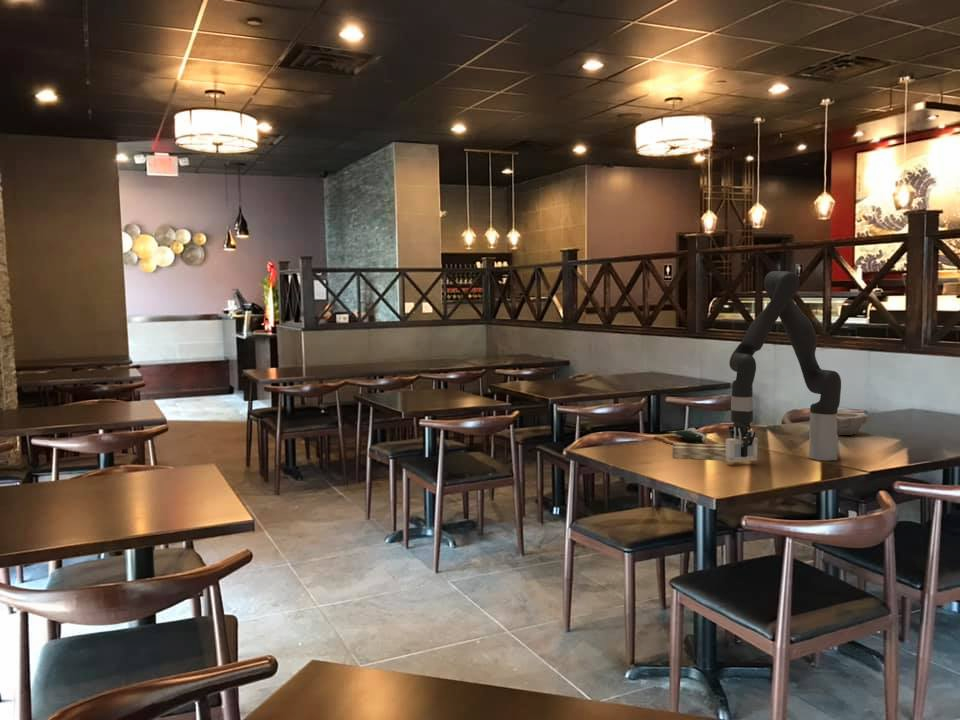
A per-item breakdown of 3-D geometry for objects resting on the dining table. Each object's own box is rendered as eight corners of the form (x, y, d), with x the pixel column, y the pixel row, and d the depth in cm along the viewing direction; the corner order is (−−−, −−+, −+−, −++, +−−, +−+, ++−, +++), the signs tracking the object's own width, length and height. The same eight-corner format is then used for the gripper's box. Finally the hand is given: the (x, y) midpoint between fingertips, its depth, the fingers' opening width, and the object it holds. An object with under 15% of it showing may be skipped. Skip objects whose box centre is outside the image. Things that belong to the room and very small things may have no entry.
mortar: (812, 432, 334) (813, 412, 334) (842, 430, 340) (843, 410, 339) (842, 439, 318) (842, 417, 318) (873, 436, 324) (873, 415, 323)
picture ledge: (749, 456, 284) (749, 446, 284) (751, 461, 275) (751, 450, 275) (673, 453, 292) (673, 443, 292) (672, 458, 283) (672, 447, 282)
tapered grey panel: (752, 458, 274) (752, 436, 273) (757, 460, 271) (757, 438, 270) (725, 460, 271) (725, 438, 270) (730, 462, 268) (730, 440, 267)
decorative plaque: (733, 431, 301) (693, 434, 293) (733, 448, 302) (693, 453, 294) (684, 420, 329) (647, 423, 321) (684, 436, 330) (646, 440, 322)
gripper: (721, 406, 275) (721, 453, 276) (744, 412, 261) (743, 460, 263) (739, 405, 277) (739, 451, 278) (762, 410, 263) (762, 459, 265)
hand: (741, 455), depth 271 cm, fingers closed on tapered grey panel, 2 cm apart
